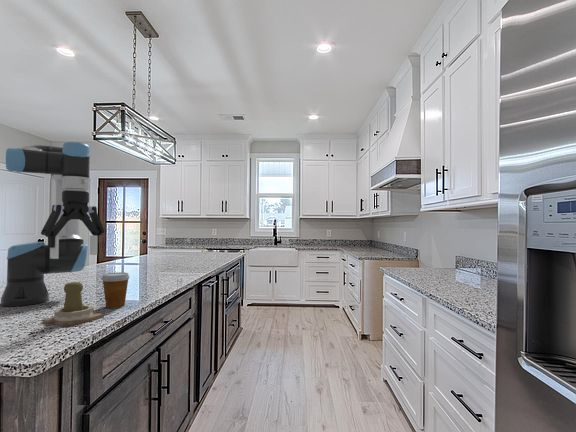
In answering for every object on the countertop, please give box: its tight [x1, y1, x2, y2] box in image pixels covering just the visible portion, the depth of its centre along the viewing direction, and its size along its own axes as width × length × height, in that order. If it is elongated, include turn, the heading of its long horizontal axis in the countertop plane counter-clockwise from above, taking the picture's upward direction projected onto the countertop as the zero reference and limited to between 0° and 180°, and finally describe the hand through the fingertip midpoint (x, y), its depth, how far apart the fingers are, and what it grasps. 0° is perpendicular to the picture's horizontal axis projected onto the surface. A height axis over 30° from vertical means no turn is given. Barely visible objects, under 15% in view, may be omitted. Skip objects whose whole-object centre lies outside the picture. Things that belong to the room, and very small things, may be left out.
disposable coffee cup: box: [101, 271, 130, 309], centre depth 131 cm, size 10×10×12 cm
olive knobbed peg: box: [63, 281, 84, 312], centre depth 112 cm, size 6×6×11 cm
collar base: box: [41, 304, 105, 328], centre depth 112 cm, size 12×12×4 cm
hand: (74, 256), depth 113 cm, fingers open, 13 cm apart
